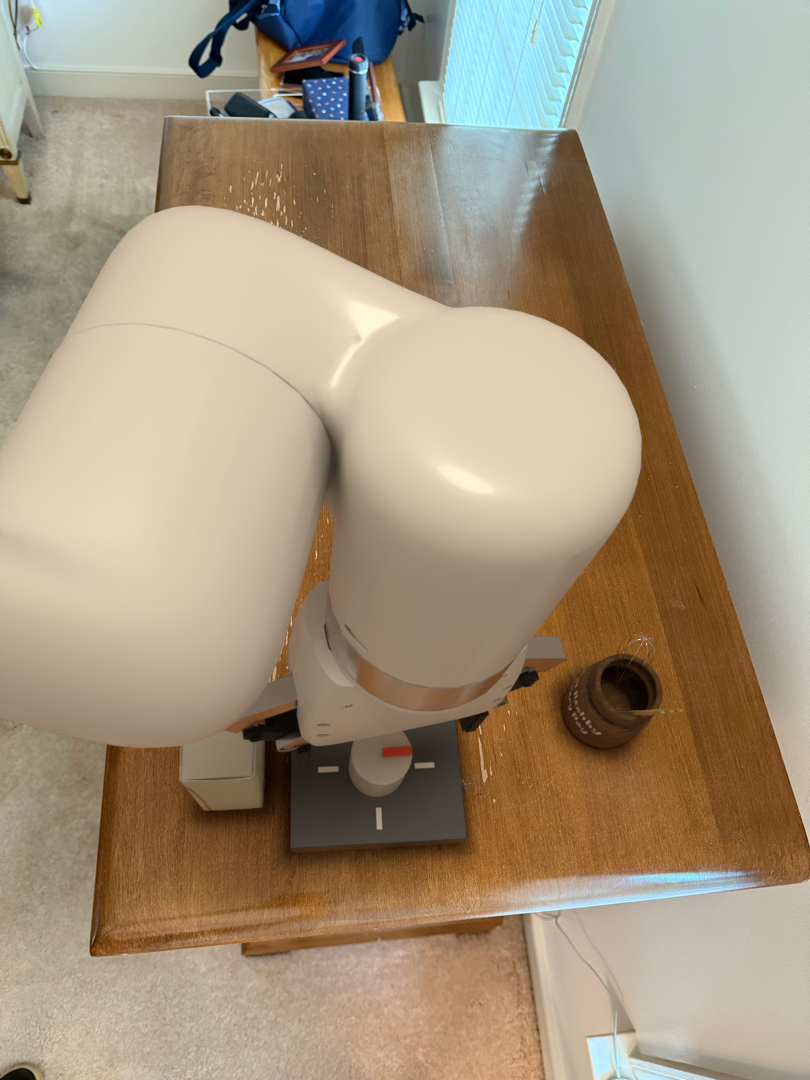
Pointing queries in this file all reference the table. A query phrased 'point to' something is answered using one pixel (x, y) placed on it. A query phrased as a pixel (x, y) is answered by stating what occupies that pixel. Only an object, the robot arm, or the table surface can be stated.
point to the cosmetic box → (224, 771)
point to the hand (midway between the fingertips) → (382, 723)
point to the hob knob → (380, 763)
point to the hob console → (380, 799)
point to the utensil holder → (613, 699)
